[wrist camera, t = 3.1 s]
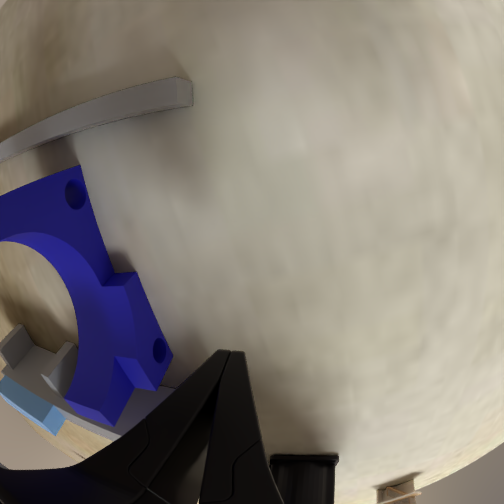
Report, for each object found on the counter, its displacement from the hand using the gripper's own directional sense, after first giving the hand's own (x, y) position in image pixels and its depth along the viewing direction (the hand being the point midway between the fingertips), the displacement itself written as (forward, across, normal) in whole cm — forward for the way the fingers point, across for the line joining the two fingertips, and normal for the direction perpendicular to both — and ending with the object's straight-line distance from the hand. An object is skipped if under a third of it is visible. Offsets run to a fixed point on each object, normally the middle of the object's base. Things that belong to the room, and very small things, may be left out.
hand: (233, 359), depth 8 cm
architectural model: (+5, -20, +37) cm, 43 cm away
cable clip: (+5, +8, 0) cm, 10 cm away
